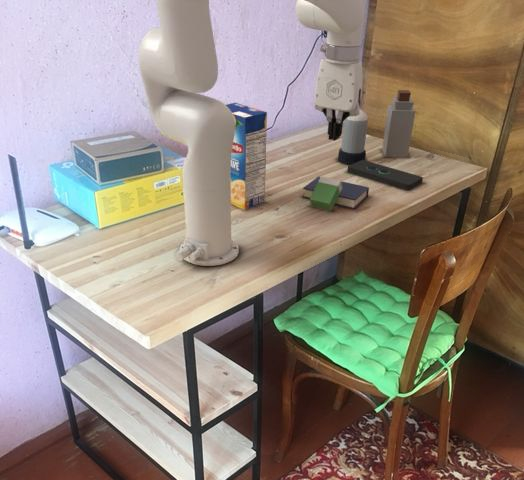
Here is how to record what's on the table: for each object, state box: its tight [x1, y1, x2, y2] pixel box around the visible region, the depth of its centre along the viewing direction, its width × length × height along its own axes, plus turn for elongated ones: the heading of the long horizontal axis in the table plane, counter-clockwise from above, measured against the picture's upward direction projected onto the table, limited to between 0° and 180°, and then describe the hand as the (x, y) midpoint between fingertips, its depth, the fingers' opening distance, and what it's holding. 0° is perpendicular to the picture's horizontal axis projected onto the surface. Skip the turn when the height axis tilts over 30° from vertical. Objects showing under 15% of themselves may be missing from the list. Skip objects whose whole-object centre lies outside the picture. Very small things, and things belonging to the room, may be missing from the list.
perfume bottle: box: [381, 89, 416, 159], centre depth 175 cm, size 7×7×18 cm
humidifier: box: [337, 71, 369, 166], centre depth 167 cm, size 8×8×25 cm
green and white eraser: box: [309, 175, 342, 212], centre depth 145 cm, size 7×5×3 cm
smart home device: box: [347, 159, 424, 191], centre depth 163 cm, size 8×2×20 cm
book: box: [302, 175, 370, 210], centre depth 151 cm, size 9×14×3 cm, turn 61°
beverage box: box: [225, 102, 268, 211], centre depth 142 cm, size 7×11×22 cm, turn 44°
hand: (334, 138), depth 139 cm, fingers closed
